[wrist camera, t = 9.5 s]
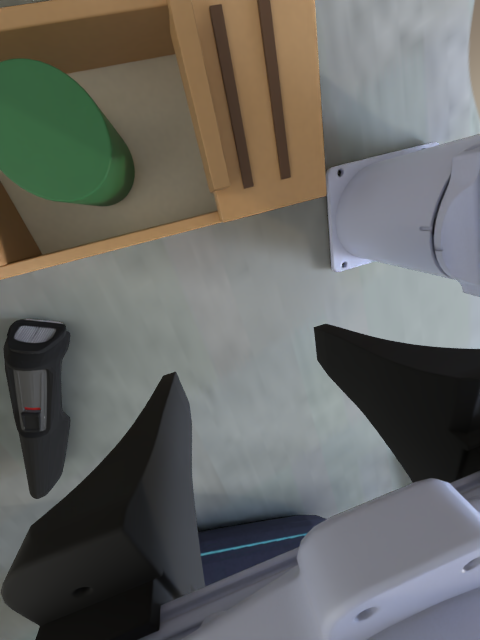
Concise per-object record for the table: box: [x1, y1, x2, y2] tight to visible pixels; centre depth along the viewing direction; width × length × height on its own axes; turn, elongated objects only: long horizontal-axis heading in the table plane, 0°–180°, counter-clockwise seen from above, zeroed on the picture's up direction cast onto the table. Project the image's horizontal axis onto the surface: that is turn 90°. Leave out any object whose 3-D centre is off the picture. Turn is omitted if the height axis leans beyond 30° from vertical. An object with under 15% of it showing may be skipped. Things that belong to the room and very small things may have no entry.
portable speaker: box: [198, 515, 326, 586], centre depth 30 cm, size 25×10×10 cm, turn 82°
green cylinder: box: [0, 58, 135, 207], centre depth 12 cm, size 4×4×6 cm
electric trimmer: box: [4, 318, 70, 499], centre depth 19 cm, size 4×16×3 cm, turn 167°
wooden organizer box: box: [0, 0, 327, 280], centre depth 13 cm, size 18×9×7 cm, turn 103°
